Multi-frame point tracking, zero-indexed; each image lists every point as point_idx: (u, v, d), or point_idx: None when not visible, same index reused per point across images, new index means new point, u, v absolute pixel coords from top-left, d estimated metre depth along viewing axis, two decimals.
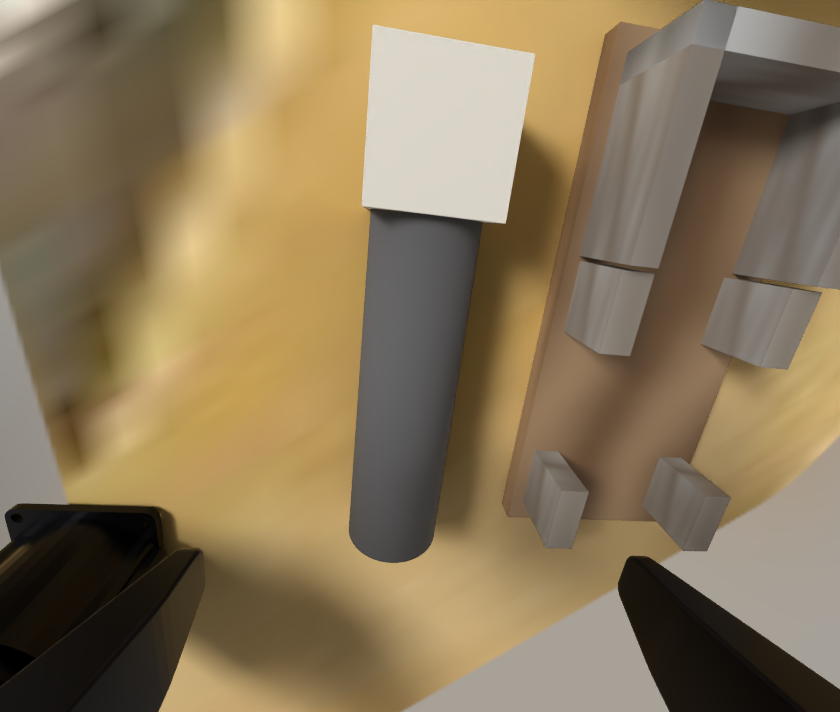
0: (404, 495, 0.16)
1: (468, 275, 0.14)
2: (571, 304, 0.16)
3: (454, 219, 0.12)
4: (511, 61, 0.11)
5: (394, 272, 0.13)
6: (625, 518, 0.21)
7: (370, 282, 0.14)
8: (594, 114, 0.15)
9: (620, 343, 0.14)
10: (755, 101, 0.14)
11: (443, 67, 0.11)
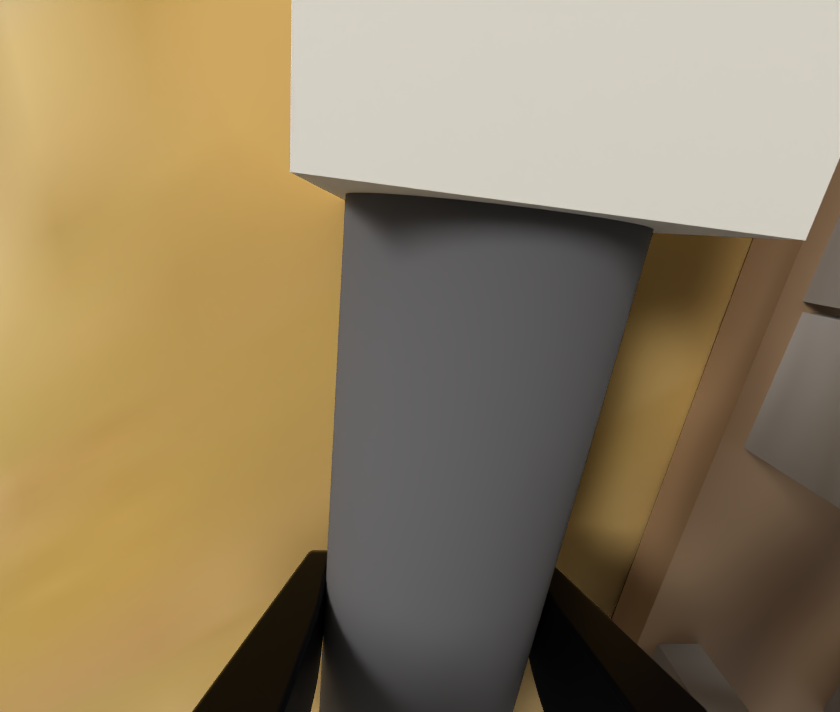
0: None
1: (610, 376, 0.05)
2: (771, 399, 0.08)
3: (611, 225, 0.04)
4: None
5: (411, 381, 0.04)
6: None
7: (344, 390, 0.05)
8: None
9: None
10: None
11: None
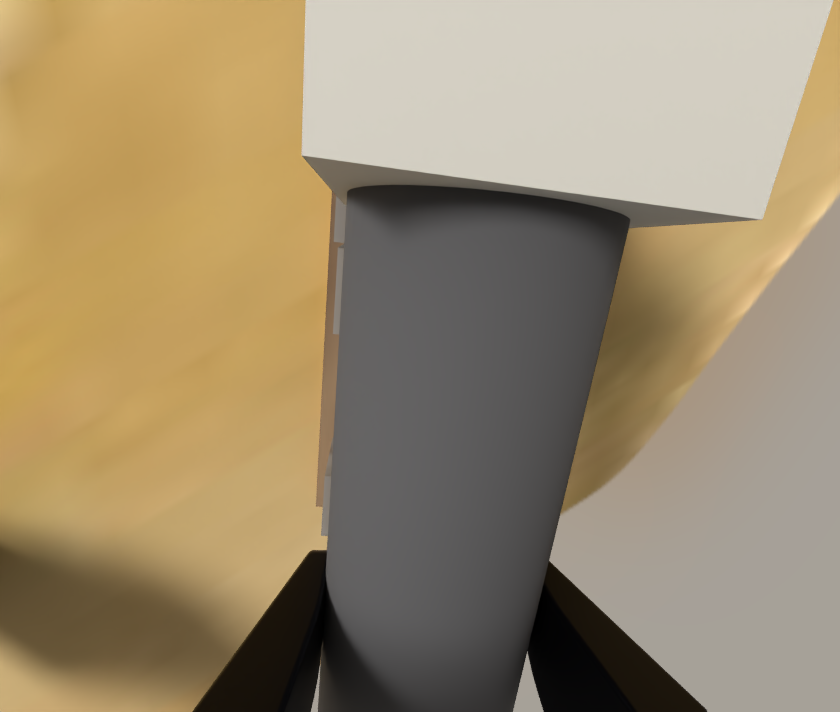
0: None
1: (596, 358, 0.05)
2: None
3: (590, 210, 0.04)
4: None
5: (410, 359, 0.05)
6: None
7: (345, 375, 0.05)
8: None
9: None
10: None
11: None
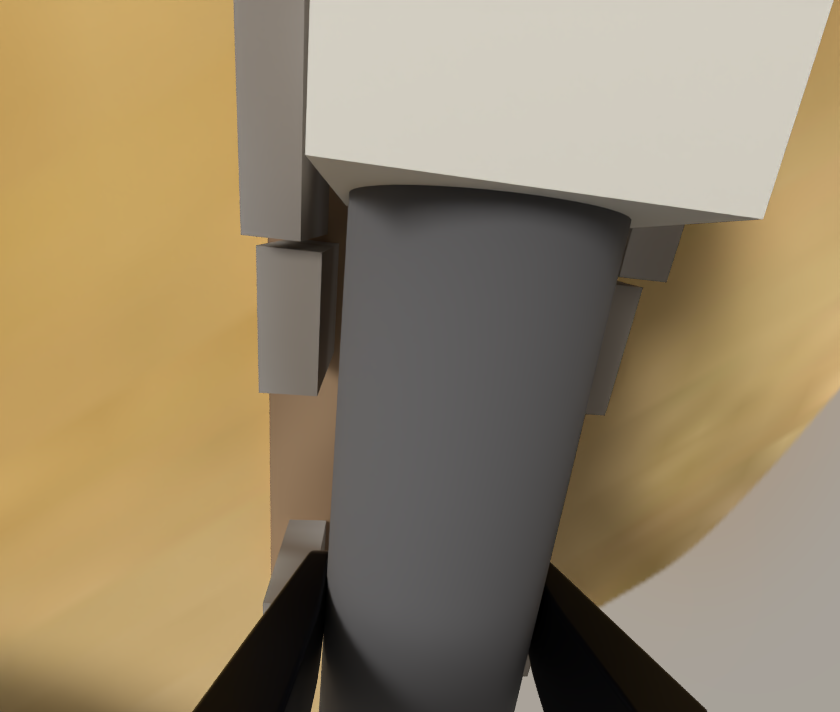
0: None
1: (597, 357, 0.05)
2: None
3: (591, 209, 0.04)
4: None
5: (412, 358, 0.05)
6: None
7: (347, 374, 0.05)
8: None
9: (293, 375, 0.08)
10: None
11: None
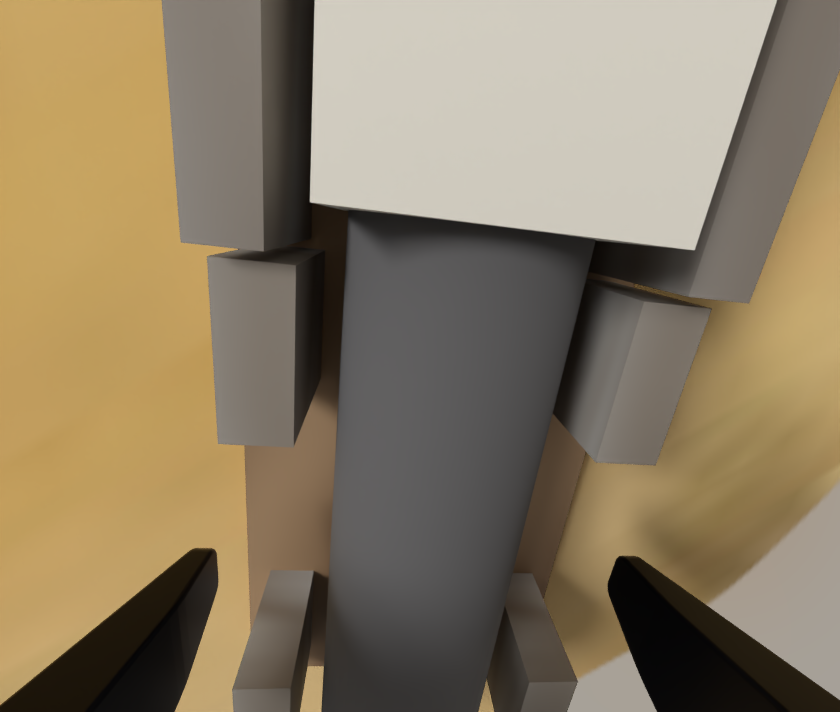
0: None
1: (563, 358, 0.06)
2: None
3: (553, 237, 0.05)
4: None
5: (401, 360, 0.05)
6: None
7: (347, 370, 0.06)
8: None
9: (261, 422, 0.06)
10: None
11: None
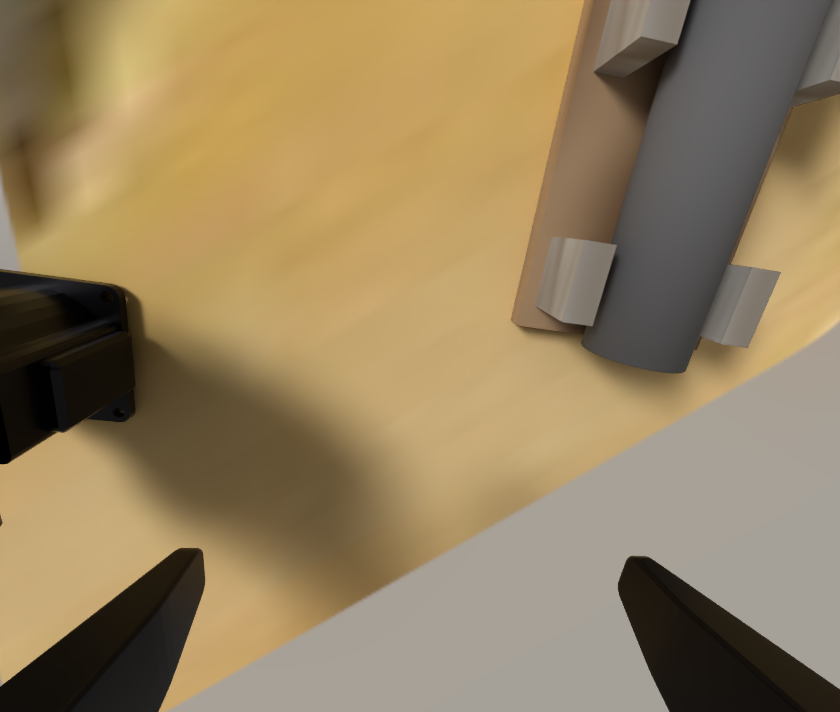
0: (700, 280, 0.13)
1: None
2: (604, 31, 0.14)
3: None
4: None
5: None
6: None
7: None
8: None
9: (667, 23, 0.12)
10: None
11: None
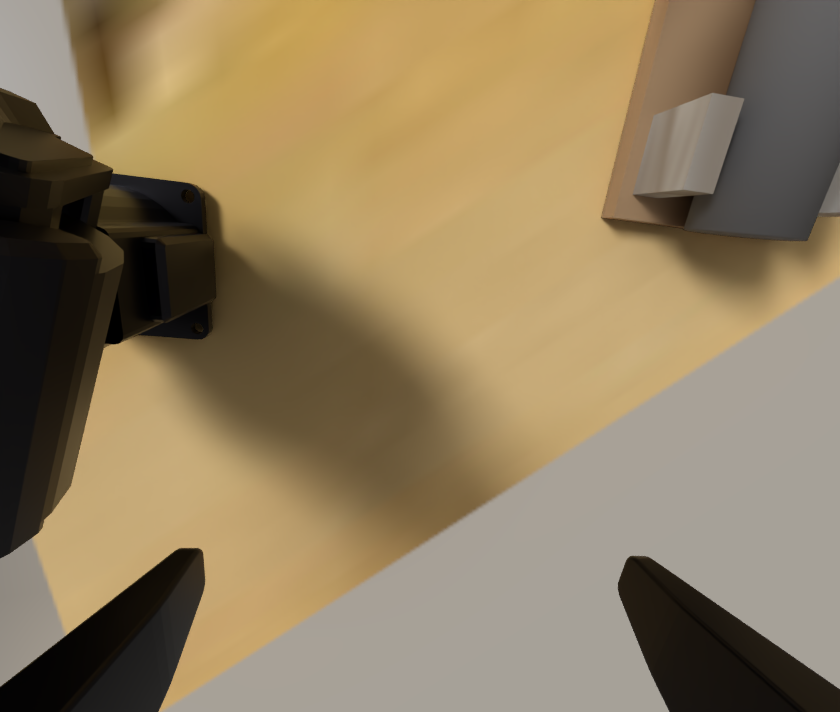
0: (837, 128, 0.13)
1: None
2: None
3: None
4: None
5: None
6: None
7: None
8: None
9: None
10: None
11: None
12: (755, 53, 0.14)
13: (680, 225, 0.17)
